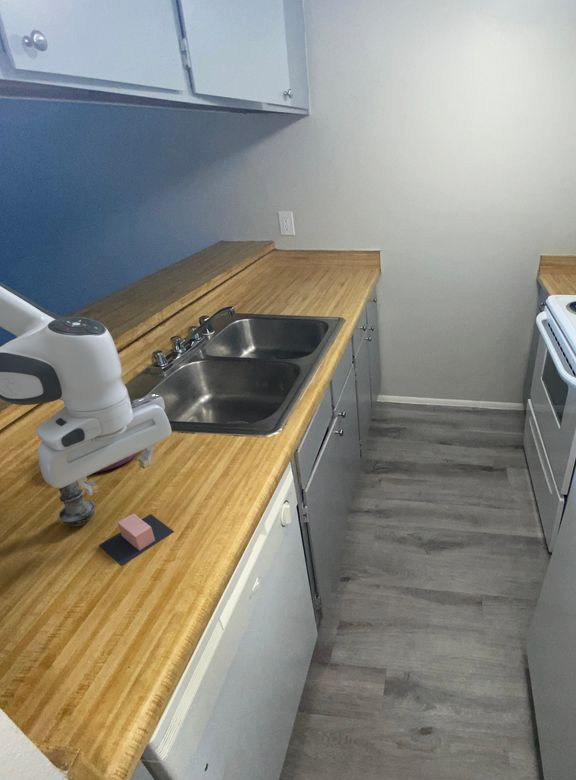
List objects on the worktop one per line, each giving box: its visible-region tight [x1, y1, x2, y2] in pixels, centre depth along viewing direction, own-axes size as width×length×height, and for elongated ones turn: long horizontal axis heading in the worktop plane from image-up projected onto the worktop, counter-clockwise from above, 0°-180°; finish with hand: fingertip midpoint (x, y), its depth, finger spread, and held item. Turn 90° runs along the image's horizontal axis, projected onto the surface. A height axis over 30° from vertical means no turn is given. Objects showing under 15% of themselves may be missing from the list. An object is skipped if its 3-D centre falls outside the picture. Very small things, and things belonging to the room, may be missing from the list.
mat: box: [98, 513, 175, 567], centre depth 88 cm, size 10×8×1 cm
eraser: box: [117, 513, 155, 551], centre depth 87 cm, size 6×3×4 cm, turn 56°
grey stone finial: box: [58, 482, 96, 527], centre depth 88 cm, size 6×6×12 cm
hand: (120, 478), depth 85 cm, fingers open, 8 cm apart
